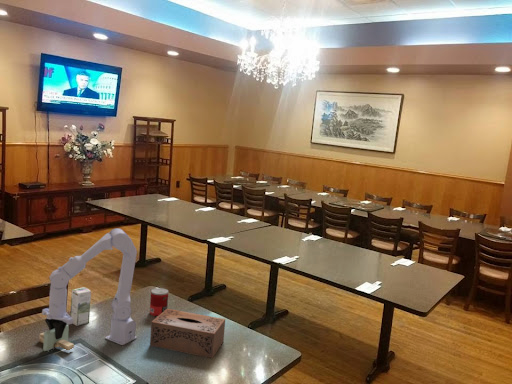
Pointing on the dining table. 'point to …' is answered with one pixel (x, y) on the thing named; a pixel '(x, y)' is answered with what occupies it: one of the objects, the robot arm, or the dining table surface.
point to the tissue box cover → (187, 332)
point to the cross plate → (53, 338)
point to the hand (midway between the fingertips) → (56, 337)
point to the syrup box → (80, 306)
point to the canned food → (158, 301)
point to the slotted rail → (58, 343)
